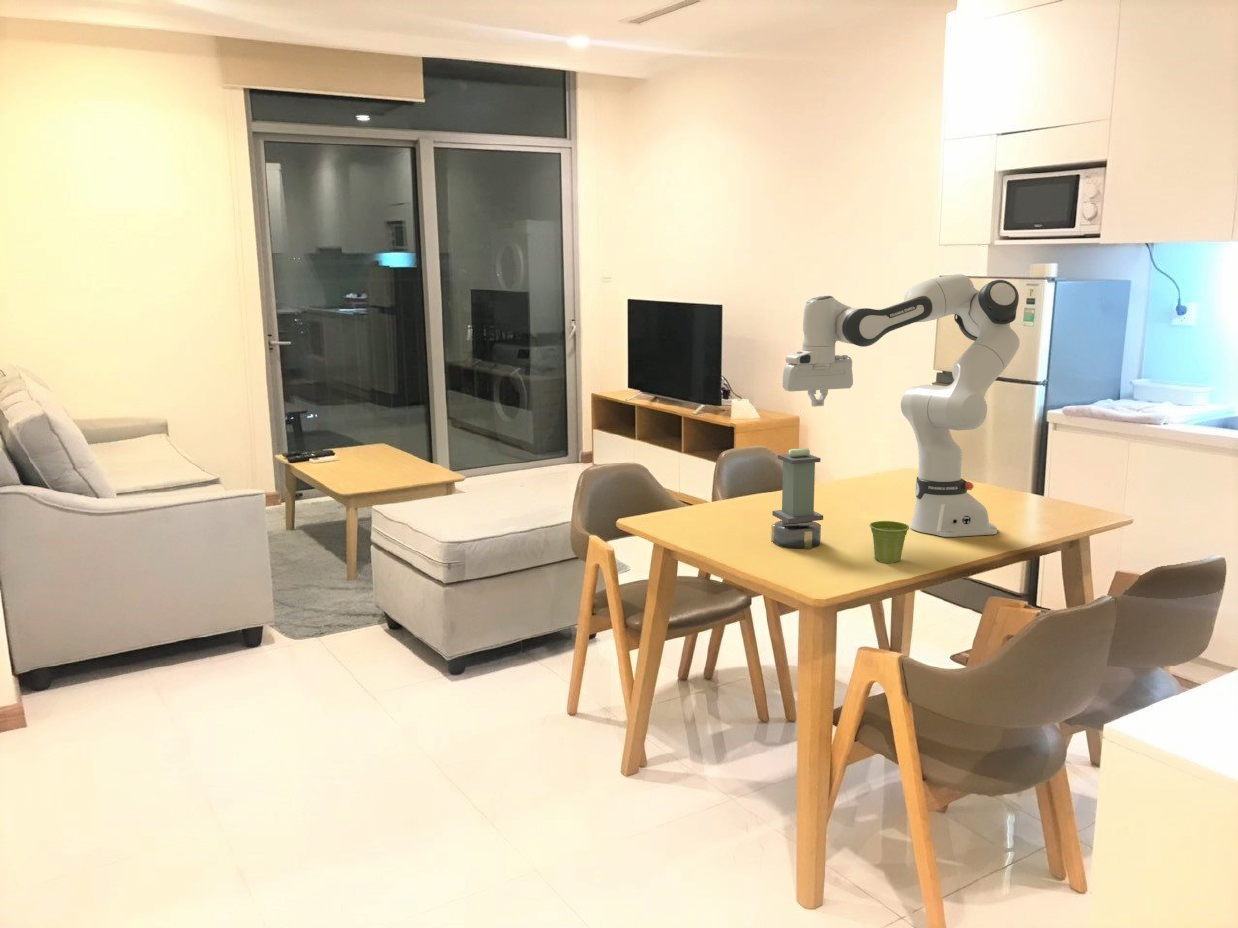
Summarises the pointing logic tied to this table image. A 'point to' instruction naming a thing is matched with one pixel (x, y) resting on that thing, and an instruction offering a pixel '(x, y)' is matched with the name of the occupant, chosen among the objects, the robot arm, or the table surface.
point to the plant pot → (888, 540)
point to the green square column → (798, 488)
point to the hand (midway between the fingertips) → (817, 406)
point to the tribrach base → (796, 535)
